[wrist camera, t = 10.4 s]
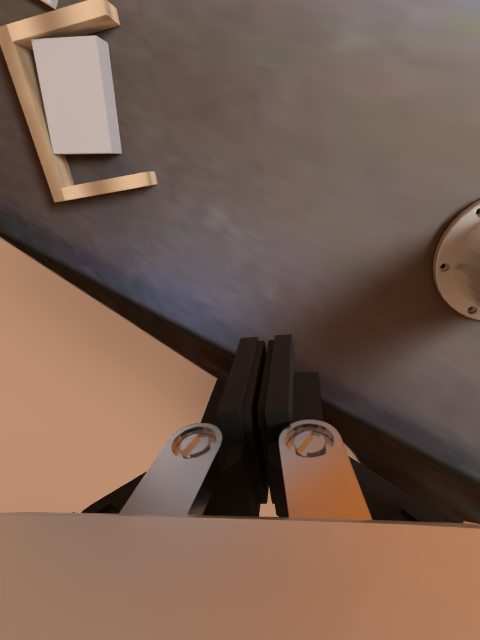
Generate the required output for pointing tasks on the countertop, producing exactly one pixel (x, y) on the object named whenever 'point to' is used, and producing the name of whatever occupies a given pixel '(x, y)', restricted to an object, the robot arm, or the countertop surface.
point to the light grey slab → (78, 94)
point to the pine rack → (26, 81)
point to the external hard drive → (51, 3)
